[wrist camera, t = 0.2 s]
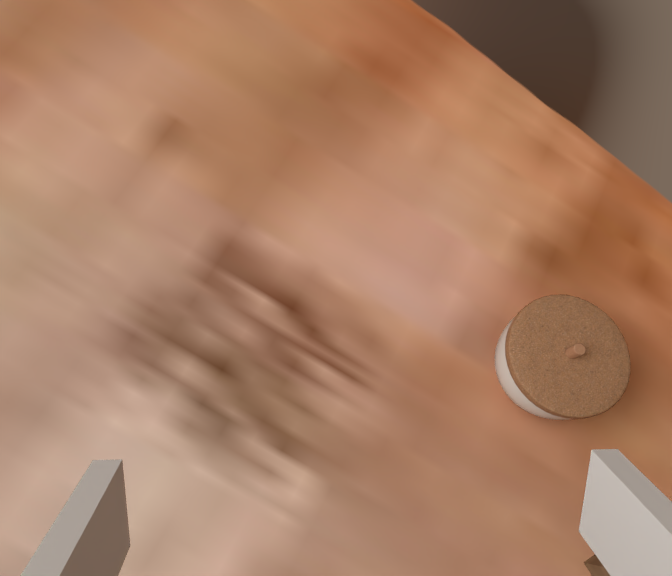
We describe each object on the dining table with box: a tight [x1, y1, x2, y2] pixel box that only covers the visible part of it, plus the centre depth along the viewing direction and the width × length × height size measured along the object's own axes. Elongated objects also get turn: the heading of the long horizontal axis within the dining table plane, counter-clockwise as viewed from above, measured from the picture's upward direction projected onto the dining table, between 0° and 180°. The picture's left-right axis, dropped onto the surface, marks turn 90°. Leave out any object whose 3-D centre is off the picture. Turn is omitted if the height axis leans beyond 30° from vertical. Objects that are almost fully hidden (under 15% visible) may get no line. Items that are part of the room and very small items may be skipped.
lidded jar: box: [495, 295, 630, 420], centre depth 50 cm, size 11×11×9 cm
